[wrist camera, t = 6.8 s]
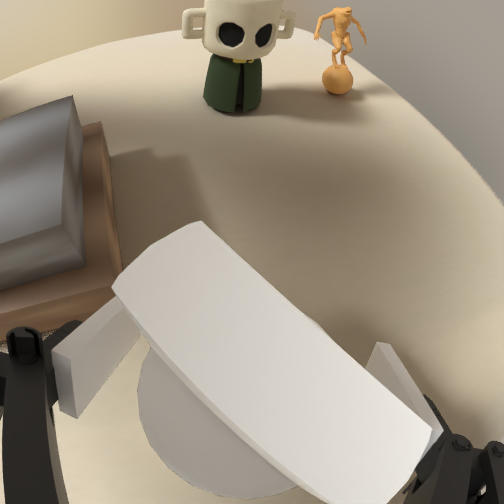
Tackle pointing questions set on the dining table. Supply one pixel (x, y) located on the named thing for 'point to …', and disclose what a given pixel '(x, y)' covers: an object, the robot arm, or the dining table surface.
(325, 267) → the dining table surface
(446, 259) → the dining table surface
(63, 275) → the grey and brown block
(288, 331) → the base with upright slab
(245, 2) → the character mug
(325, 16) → the figurine
